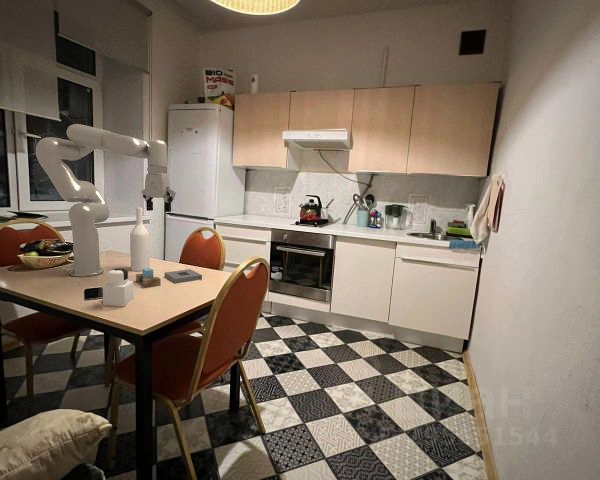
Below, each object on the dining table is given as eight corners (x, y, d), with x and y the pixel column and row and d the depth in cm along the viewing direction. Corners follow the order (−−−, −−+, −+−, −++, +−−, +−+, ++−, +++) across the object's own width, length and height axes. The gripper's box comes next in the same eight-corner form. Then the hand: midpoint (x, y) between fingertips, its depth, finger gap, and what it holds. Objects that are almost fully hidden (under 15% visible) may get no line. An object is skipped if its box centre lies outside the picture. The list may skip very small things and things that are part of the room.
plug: (145, 285, 129) (145, 270, 128) (142, 282, 132) (142, 268, 131) (153, 283, 131) (153, 269, 130) (150, 281, 134) (150, 267, 133)
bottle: (131, 272, 148) (129, 208, 144) (130, 267, 155) (129, 206, 151) (150, 270, 152) (149, 208, 148) (148, 266, 159) (148, 207, 155)
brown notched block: (145, 289, 126) (144, 280, 125) (136, 282, 134) (135, 274, 133) (160, 286, 130) (160, 278, 129) (150, 280, 138) (150, 272, 137)
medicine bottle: (113, 299, 113) (112, 266, 112) (133, 299, 114) (133, 267, 112) (102, 306, 106) (101, 271, 105) (124, 307, 107) (123, 272, 105)
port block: (175, 284, 134) (175, 278, 133) (164, 277, 142) (164, 272, 142) (201, 280, 142) (201, 274, 142) (190, 274, 151) (190, 269, 150)
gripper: (134, 169, 133) (136, 210, 136) (167, 170, 128) (169, 212, 130) (148, 171, 140) (149, 209, 143) (180, 171, 135) (181, 211, 137)
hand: (158, 211), depth 136 cm, fingers open, 9 cm apart
